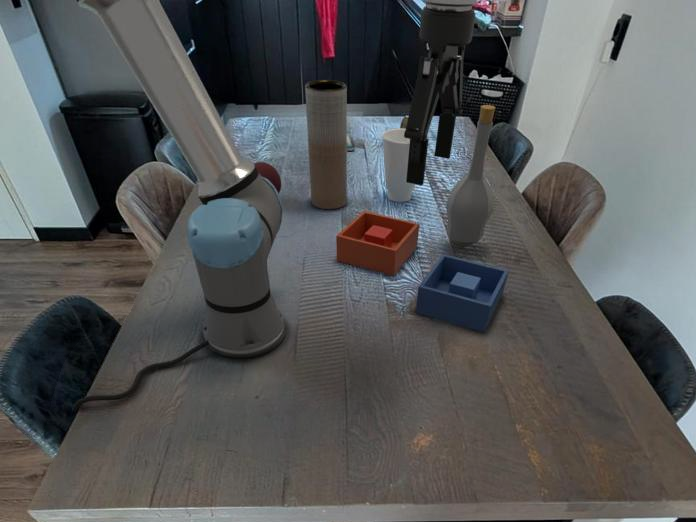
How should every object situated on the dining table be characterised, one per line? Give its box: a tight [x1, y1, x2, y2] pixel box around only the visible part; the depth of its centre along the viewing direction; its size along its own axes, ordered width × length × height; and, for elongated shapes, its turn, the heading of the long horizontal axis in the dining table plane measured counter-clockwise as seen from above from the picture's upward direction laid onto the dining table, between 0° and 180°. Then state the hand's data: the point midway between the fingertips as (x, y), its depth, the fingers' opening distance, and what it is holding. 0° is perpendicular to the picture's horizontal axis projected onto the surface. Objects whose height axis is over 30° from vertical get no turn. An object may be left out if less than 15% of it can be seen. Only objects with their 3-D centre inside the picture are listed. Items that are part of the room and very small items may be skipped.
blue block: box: [448, 272, 481, 300], centre depth 98 cm, size 5×5×5 cm
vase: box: [304, 79, 348, 210], centre depth 123 cm, size 10×10×28 cm
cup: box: [381, 127, 416, 203], centre depth 131 cm, size 12×12×16 cm
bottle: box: [445, 104, 496, 248], centre depth 106 cm, size 11×11×30 cm
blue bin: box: [414, 253, 510, 333], centre depth 98 cm, size 15×15×6 cm
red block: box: [364, 225, 393, 248], centre depth 111 cm, size 5×5×5 cm
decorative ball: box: [253, 161, 282, 194], centre depth 129 cm, size 10×10×10 cm
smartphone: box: [347, 133, 354, 152], centre depth 165 cm, size 7×1×15 cm
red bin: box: [335, 210, 420, 277], centre depth 111 cm, size 15×15×6 cm
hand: (429, 169), depth 81 cm, fingers open, 13 cm apart
